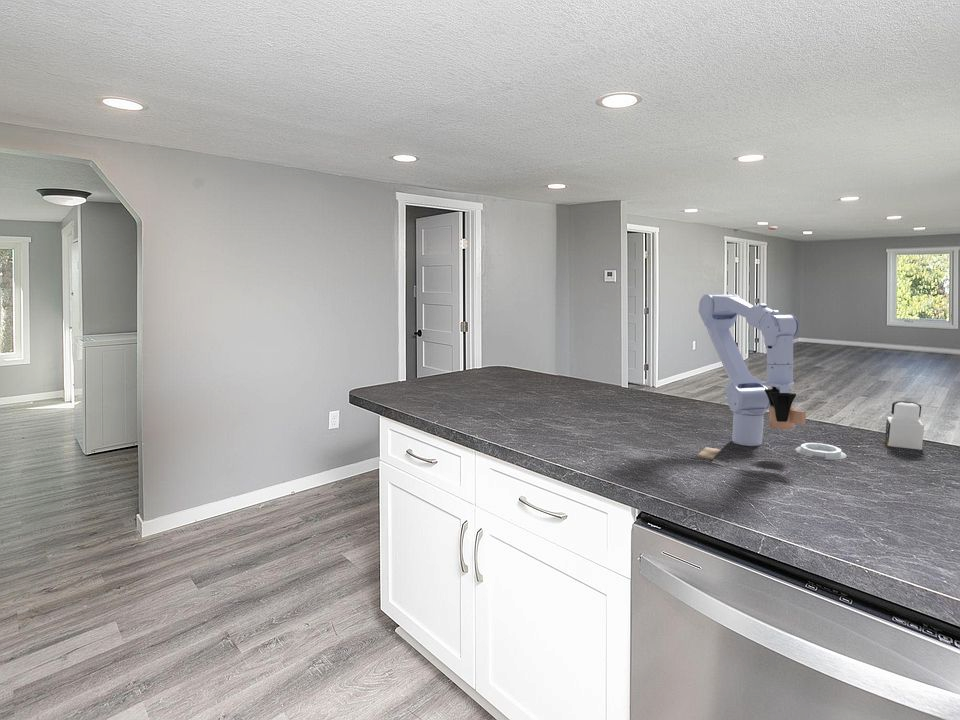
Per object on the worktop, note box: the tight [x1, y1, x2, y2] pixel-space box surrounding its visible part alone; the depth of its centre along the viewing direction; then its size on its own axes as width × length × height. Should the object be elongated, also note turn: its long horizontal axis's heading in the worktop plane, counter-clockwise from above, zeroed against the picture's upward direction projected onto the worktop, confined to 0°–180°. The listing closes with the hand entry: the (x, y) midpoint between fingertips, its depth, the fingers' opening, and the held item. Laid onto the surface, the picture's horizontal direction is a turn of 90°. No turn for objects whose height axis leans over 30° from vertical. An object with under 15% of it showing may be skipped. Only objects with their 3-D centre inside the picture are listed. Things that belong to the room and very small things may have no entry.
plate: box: [795, 442, 847, 460], centre depth 142 cm, size 11×11×2 cm
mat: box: [697, 446, 731, 463], centre depth 143 cm, size 8×8×1 cm
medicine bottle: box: [884, 400, 925, 451], centre depth 147 cm, size 7×7×12 cm
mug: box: [768, 405, 807, 430], centre depth 137 cm, size 9×6×5 cm, turn 22°
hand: (779, 419), depth 139 cm, fingers closed on mug, 6 cm apart
